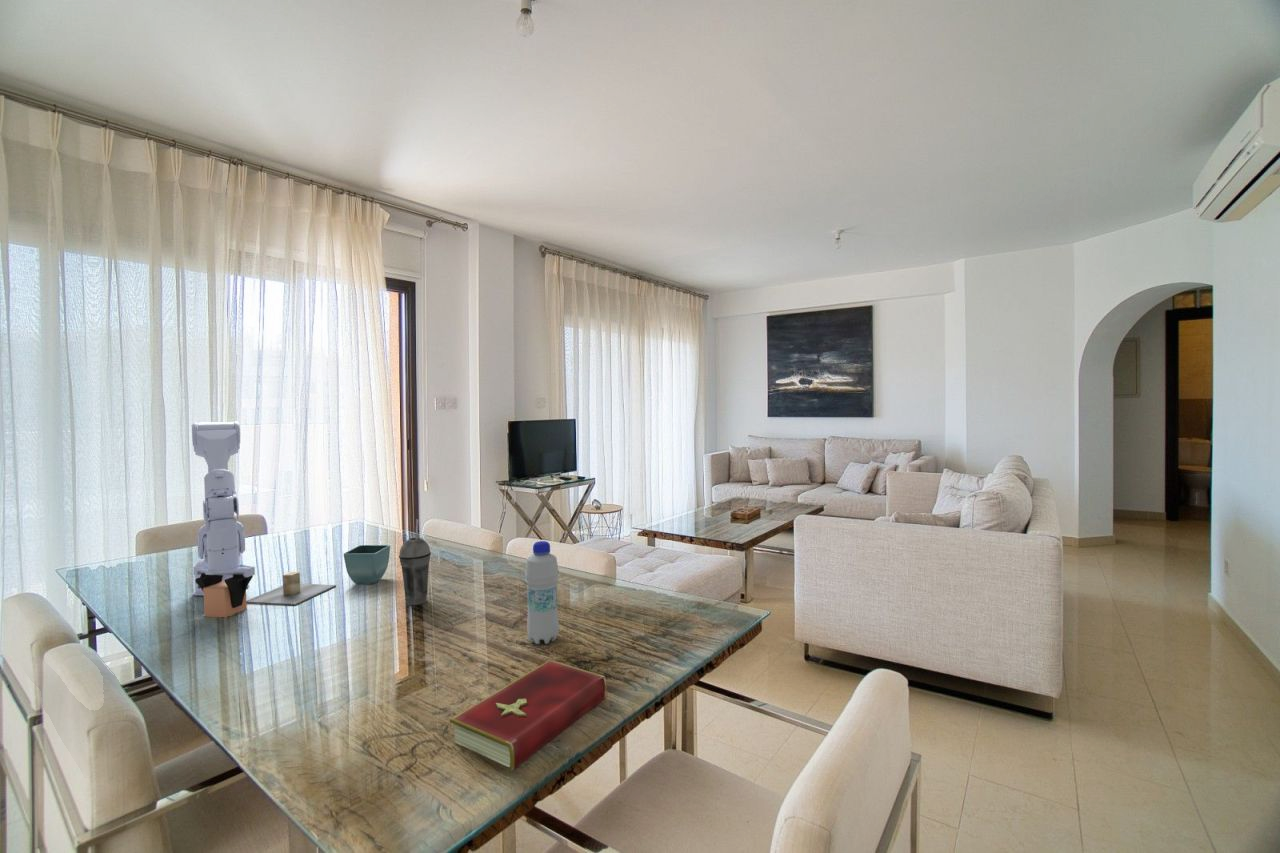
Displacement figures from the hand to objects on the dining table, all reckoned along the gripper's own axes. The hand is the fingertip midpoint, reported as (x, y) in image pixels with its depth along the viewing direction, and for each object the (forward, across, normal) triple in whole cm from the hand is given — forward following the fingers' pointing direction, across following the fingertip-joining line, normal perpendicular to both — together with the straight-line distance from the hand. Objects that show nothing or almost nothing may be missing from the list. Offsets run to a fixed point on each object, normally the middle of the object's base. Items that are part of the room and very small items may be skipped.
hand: (225, 605), depth 131 cm
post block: (+2, +6, +13) cm, 14 cm away
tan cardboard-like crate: (+2, 0, 0) cm, 2 cm away
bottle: (+2, +79, -5) cm, 79 cm away
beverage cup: (+2, +41, +12) cm, 43 cm away
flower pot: (+2, +19, +25) cm, 31 cm away
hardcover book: (+2, +87, -32) cm, 93 cm away
